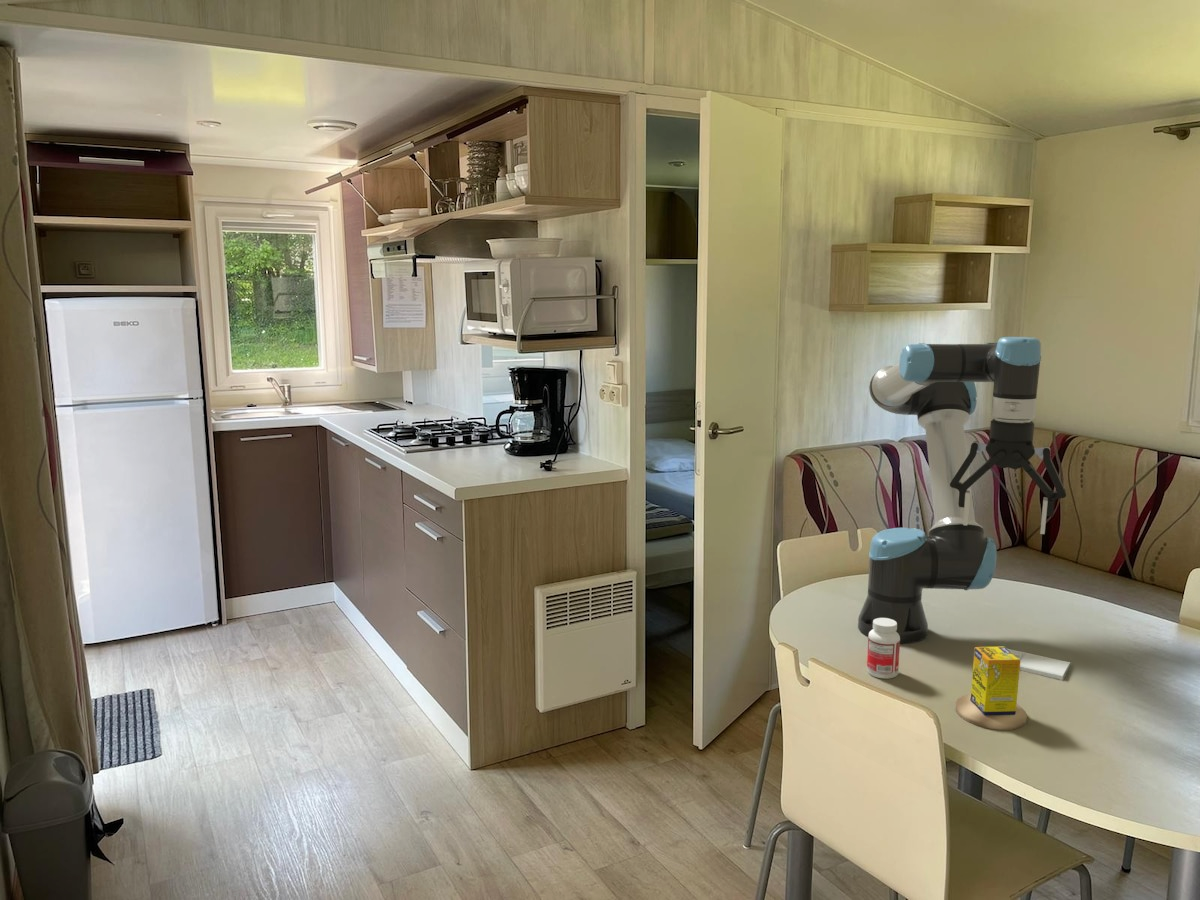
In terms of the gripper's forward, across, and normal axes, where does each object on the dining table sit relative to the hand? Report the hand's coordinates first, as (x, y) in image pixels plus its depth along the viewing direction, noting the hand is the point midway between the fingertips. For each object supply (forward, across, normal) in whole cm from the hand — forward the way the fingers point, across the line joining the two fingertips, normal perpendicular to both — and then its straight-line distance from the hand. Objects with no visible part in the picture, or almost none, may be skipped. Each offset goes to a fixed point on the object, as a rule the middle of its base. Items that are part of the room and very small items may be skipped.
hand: (1003, 528), depth 173 cm
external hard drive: (+32, +7, +12) cm, 35 cm away
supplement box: (+31, +1, -14) cm, 34 cm away
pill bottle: (+32, -20, -6) cm, 38 cm away
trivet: (+32, +1, -15) cm, 35 cm away
